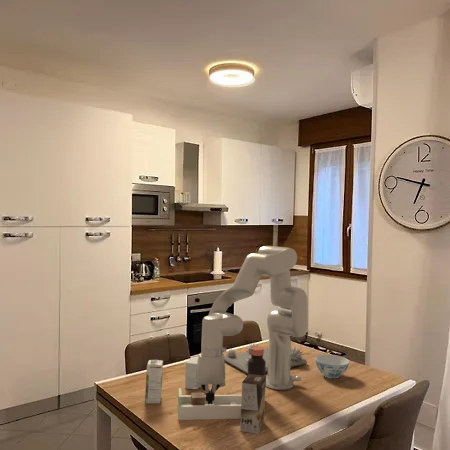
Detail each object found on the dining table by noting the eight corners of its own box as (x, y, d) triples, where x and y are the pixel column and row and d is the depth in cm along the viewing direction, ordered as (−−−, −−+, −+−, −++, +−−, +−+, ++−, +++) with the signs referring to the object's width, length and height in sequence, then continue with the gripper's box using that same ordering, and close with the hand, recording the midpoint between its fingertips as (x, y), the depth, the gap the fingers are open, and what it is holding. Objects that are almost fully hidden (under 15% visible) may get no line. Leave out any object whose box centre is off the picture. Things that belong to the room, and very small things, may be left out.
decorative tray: (276, 352, 228) (276, 333, 228) (309, 366, 206) (310, 346, 206) (220, 361, 210) (221, 341, 210) (250, 378, 188) (251, 356, 188)
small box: (197, 390, 172) (198, 364, 172) (184, 388, 173) (185, 362, 173) (202, 383, 179) (203, 358, 179) (190, 381, 181) (191, 356, 180)
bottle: (259, 405, 159) (261, 352, 159) (243, 400, 163) (245, 348, 163) (267, 399, 165) (269, 347, 165) (251, 394, 169) (253, 344, 169)
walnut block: (203, 403, 153) (203, 392, 153) (204, 409, 149) (205, 397, 149) (190, 403, 152) (191, 392, 152) (191, 409, 148) (192, 397, 148)
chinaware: (311, 379, 189) (312, 361, 189) (317, 368, 203) (318, 352, 203) (346, 385, 183) (347, 367, 183) (350, 374, 197) (350, 357, 197)
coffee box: (258, 434, 137) (260, 385, 137) (239, 431, 139) (241, 382, 139) (264, 422, 146) (266, 375, 146) (246, 419, 148) (248, 373, 148)
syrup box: (146, 397, 163) (147, 359, 163) (161, 397, 163) (163, 359, 163) (144, 403, 157) (146, 364, 157) (160, 403, 158) (162, 364, 157)
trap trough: (253, 406, 158) (253, 386, 158) (258, 418, 149) (259, 396, 149) (177, 407, 155) (178, 387, 155) (178, 419, 145) (178, 398, 145)
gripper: (230, 348, 156) (229, 397, 156) (190, 348, 154) (188, 398, 154) (234, 354, 148) (232, 406, 148) (191, 354, 146) (189, 407, 146)
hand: (209, 402), depth 151 cm, fingers closed
